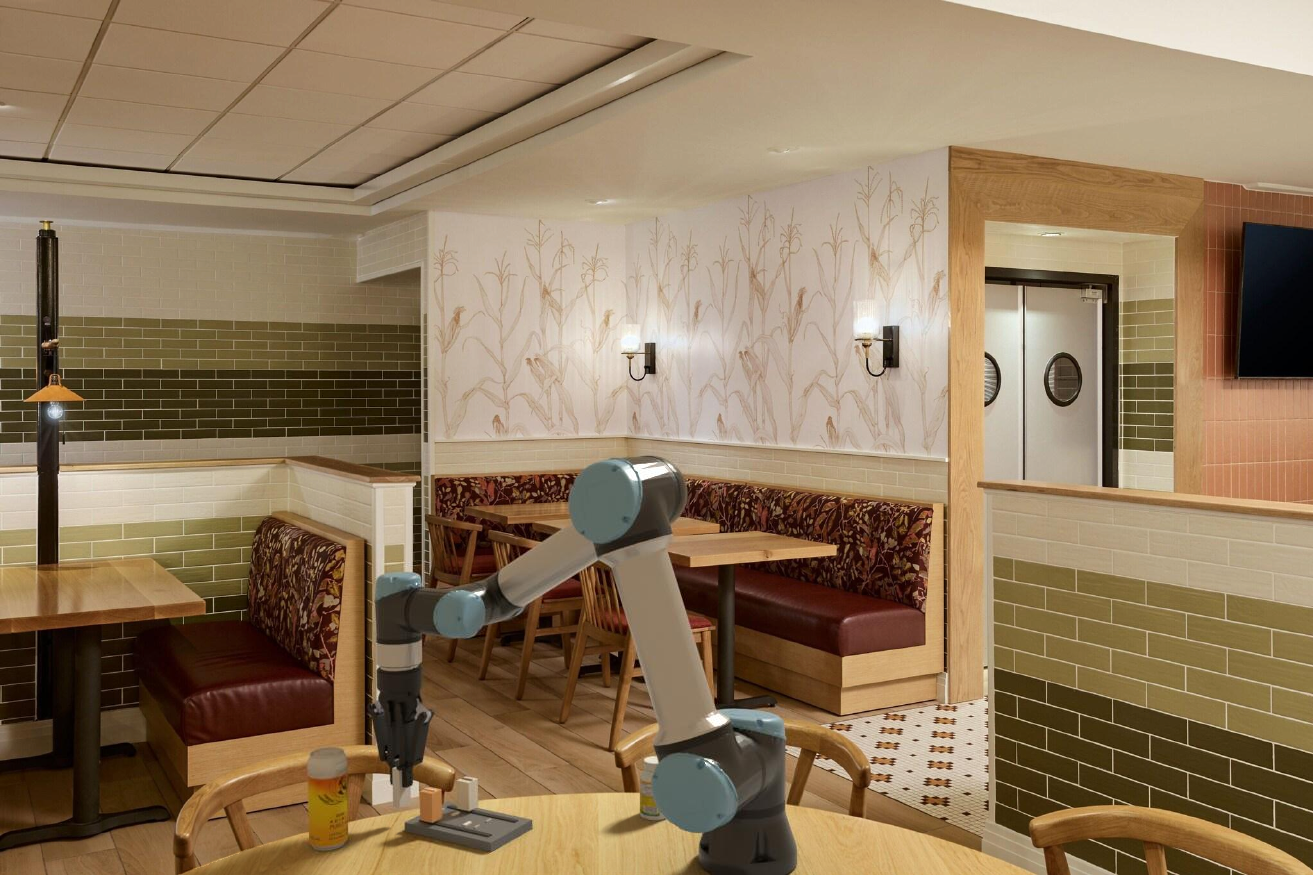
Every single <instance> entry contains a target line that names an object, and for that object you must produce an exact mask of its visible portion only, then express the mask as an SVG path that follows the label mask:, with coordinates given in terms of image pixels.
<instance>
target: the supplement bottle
mask: <svg viewBox="0 0 1313 875" xmlns="http://www.w3.org/2000/svg"><path fill="white" fill-rule="evenodd" d="M657 764H658V759H657V756H656V755H655V756H648V757H645V758H644V759H643V768H644V769H643V771H641V773H640V774H639V814H640V817H642V818H643V819H644V820H648V821H662V820H665V819H666V818H665V817H664V816H663V815H662V814H661V812H660V811H659V809H658V808H657V806H656V804H655V802H654V799H653V796H652V791H651V780H652V776H653V775H654V771H655V768H656V766H657ZM666 820H667V819H666Z"/></svg>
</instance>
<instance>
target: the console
mask: <svg viewBox="0 0 1313 875" xmlns="http://www.w3.org/2000/svg"><path fill="white" fill-rule="evenodd" d="M531 830H533V819H531V818H525V817H520V816H516V815H514V814H513V815H511V814H507V813H504V812H499V811H498V812H497V811H493V810H488V809H485V808H480V807H476V808H474V809H472V810H470V811H466V810H461V809H457V802H452V801H446V802H443V803H442V818H441V819H439V820H437V821H435V822H433V823H431V822H426V821H422V820H420V814H418V815H417V816H415V817H412V818H411V819H409V820H406V821H405V822H404V832H405V833H410V834H415V835H419V836H423V837H427V838H432V839H435V840H439V841H444V842H448V843H452V844H456V845H460V846H465V847H468V848H472V849H478V850H482V851H486V852H489V853H492V852H494V851H496V850H497V849H499V848H500V847H503V846H505V845H506V844H508V843H510V842H511V841H513V840H515V839H517V838H519V837H520V836H522V835H523V834H526V833H527V832H529V831H531Z"/></svg>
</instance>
